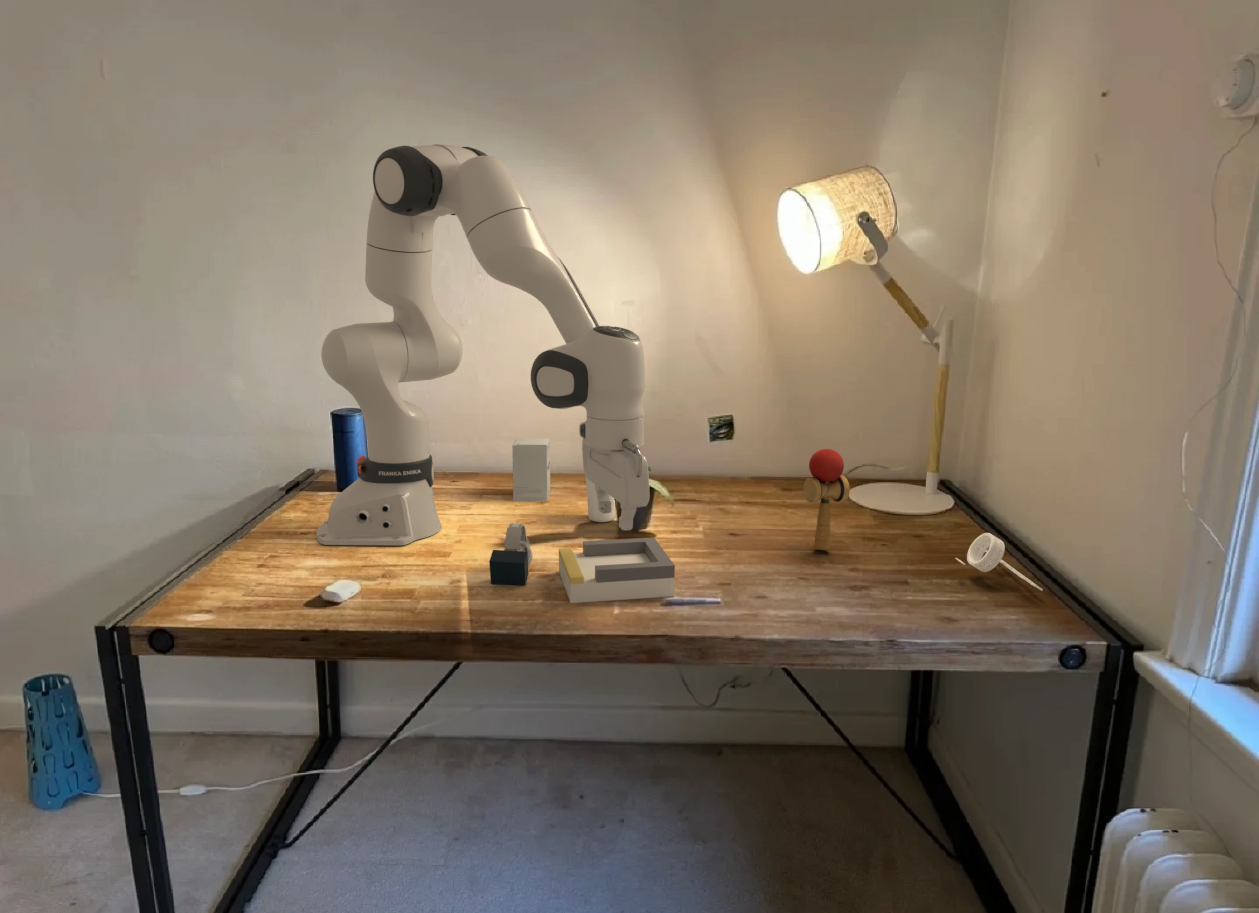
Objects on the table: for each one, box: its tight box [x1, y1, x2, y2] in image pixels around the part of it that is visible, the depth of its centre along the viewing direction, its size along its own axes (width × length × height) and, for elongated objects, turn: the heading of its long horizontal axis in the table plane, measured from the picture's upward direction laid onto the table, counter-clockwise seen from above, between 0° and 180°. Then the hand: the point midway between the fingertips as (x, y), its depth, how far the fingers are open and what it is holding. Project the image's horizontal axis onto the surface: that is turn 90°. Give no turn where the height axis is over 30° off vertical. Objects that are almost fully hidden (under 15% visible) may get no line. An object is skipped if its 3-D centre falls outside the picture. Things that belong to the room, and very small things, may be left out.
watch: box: [488, 522, 533, 586], centre depth 148 cm, size 6×8×11 cm
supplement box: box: [511, 437, 551, 503], centre depth 192 cm, size 7×7×13 cm
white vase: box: [584, 475, 616, 523], centre depth 178 cm, size 7×7×15 cm
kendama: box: [802, 448, 851, 551], centre depth 162 cm, size 8×6×18 cm
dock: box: [558, 536, 676, 604], centre depth 145 cm, size 16×14×5 cm
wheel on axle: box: [955, 532, 1044, 592], centre depth 151 cm, size 18×10×6 cm
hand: (614, 520), depth 143 cm, fingers open, 8 cm apart
